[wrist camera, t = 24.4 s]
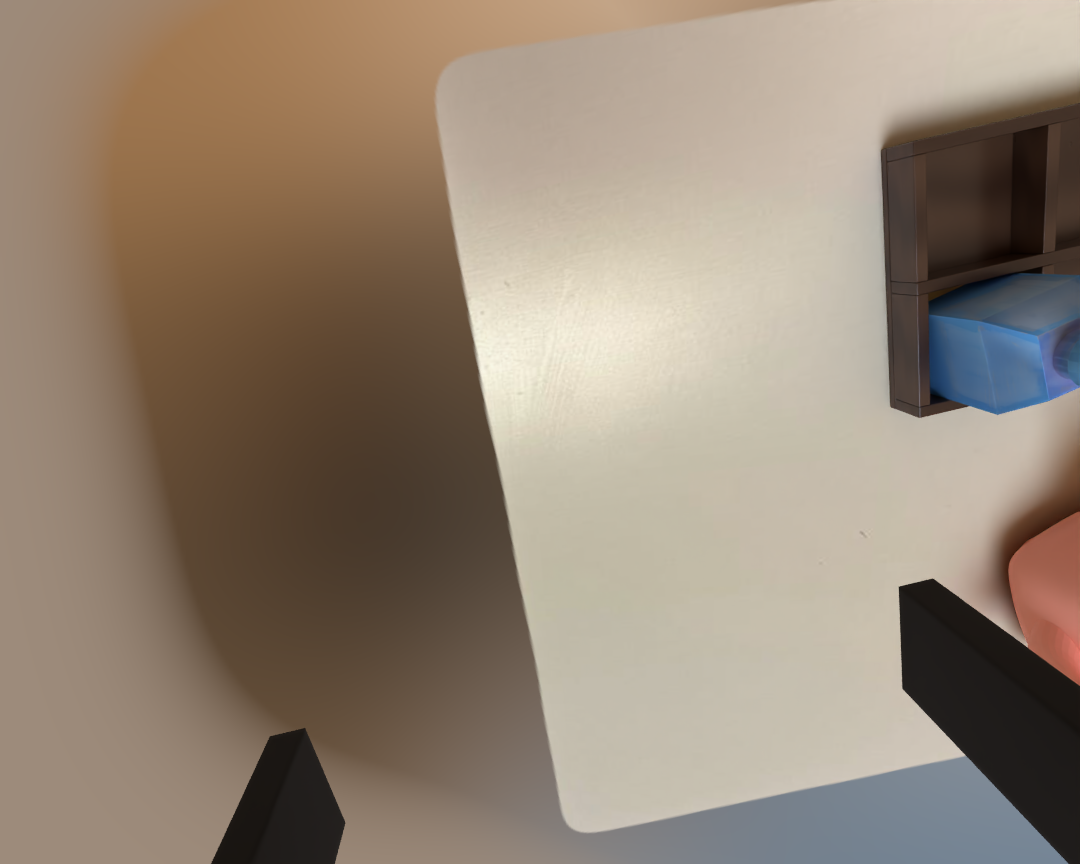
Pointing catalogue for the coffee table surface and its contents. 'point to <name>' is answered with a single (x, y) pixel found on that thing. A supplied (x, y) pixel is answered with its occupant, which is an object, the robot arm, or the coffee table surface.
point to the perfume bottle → (1006, 341)
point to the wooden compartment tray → (973, 226)
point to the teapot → (1050, 594)
